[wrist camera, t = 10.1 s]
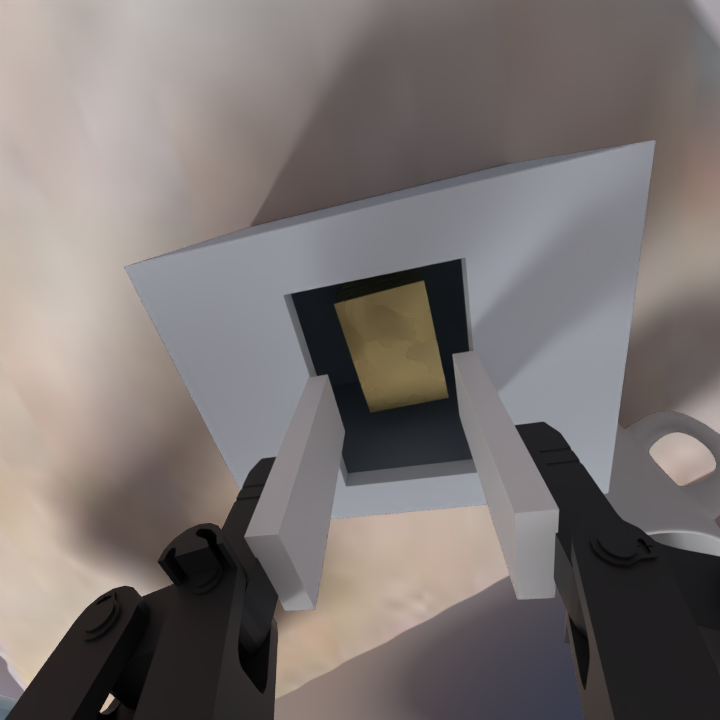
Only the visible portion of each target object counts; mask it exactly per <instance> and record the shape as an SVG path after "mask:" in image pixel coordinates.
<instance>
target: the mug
mask: <svg viewBox="0 0 720 720" xmlns="http://www.w3.org/2000/svg"><path fill="white" fill-rule="evenodd" d="M674 432H680V433H685V434H687V435H690V436H692V437H694V438H696V439H697V440H699V441H700V442H701V443H703V444H704V445H705V446H706V447H707V448H708V449H709V450H710V451H711V453H712V454H713V456H714V458H715V461H716V469H715V470H714V472H713V473H712V474H711V475H710V476H709V477H707V478H706V479H704V480H702V481H700V482H697V483H694V484H691V485H686V486H679V485H677V484H676V483H675V482H674V481H673V480H672V479H671V478H670V477H669V476H668V475H667V474H666V473H665V472H664V471H663V470H662V468H661V467H660V466H659V465H658V464H657V463H656V462H655V461H654V459H653V458H652V457H651V455H650V453H649V450H650V448H651V446H652V445H653V444H654V443H655V442H656V441H657V440H659V439H660V438H662V437H663V436H665V435H667V434H670V433H674ZM604 495H605V497H606V498H607V500H608V501H609V503H610V504H611V505H612V507H613V508H614V510H615V511H616V512H617V514H618V515H619V516H620V517H621V518H622V519H623V520H624V521H626V522H628V523H631V524H633V525H635V526H637V527H639V528H640V529H641V530H643V531H644V532H645V533H646V534H648V535H649V536H650V537H651V538H653V539H654V541H656V542H659V543H661V544H664V545H668V546H671V547H675V548H679V549H684V550H689V551H695V552H700V553H705V554H710V555H716V556H720V528H719V527H718V526H717V524H716V523H715V521H714V519H715V518H716V517H717V516H719V515H720V434H718V433H717V432H716V431H714V430H713V429H711V428H710V427H708V426H707V425H705V424H704V423H702V422H700V421H698V420H696V419H694V418H693V417H690V416H688V415H685V414H683V413H678V412H674V411H660V412H655V413H652V414H650V415H648V416H646V417H644V418H642V419H640V420H638V421H637V422H635V423H633V424H632V425H630V426H629V427H627V428H625V429H624V428H623V427H622V426H621V425H620V424H619V423H618V424H617V432H616V439H615V447H614V454H613V462H612V469H611V477H610V484H609V491H608V493H606V494H604Z"/></svg>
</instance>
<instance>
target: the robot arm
mask: <svg viewBox="0 0 720 720" xmlns="http://www.w3.org/2000/svg"><path fill="white" fill-rule="evenodd" d="M452 355H453V364H454V372H455V381H456V390H457V398H458V407H459V416H460V419H461V423H462V426H463V429H464V432H465V435H466V438H467V441H468V445H469V448H470V451H471V454H472V457H473V460H474V464H475V467H476V470H477V473H478V476H479V479H480V483H481V486H482V489H483V492H484V495H485V498H486V501H487V505H488V508H489V511H490V514H491V517H492V520H493V524H494V527H495V530H496V533H497V536H498V539H499V542H500V546H501V549H502V552H503V555H504V558H505V561H506V565H507V568H508V571H509V574H510V577H511V580H512V584H513V587H514V590H515V593H516V596H517V599H537V598H554V597H555V585H556V586H557V588H558V590H559V593H560V595H561V597H562V599H563V602H564V604H565V607H566V609H567V612H566V624H565V642H566V643H570V645H571V651H572V656H573V662H574V667H575V672H576V678H577V683H578V688H579V694H580V699H581V704H582V710H583V716H584V720H720V556H716V555H710V554H705V553H700V552H695V551H689V550H684V549H679V548H675V547H671V546H668V545H664V544H661V543H659V542H656V541H654V539H653V538H651V537H650V536H649V535H648V534H646V533H645V532H644V531H643V530H641V529H640V528H639V527H637V526H635V525H633V524H631V523H628V522H626V521H624V520H623V519H622V518H621V517H620V516H619V515H618V514H617V512H616V511H615V510H614V508H613V507H612V505H611V504H610V503H609V501H608V500H607V498H606V497H605V495H604V494H603V493H602V491H601V490H600V488H599V487H598V485H597V484H596V483H595V481H594V480H593V478H592V477H591V475H590V474H589V473H588V471H587V470H586V468H585V467H584V465H583V464H582V463H580V460H579V458H578V457H577V456H576V454H575V453H574V451H572V450H571V447H570V446H569V444H568V443H567V441H566V440H565V438H564V437H563V436H562V434H561V433H560V432H559V431H557V430H556V429H554V428H553V427H551V426H550V425H548V424H547V423H545V422H544V421H543V422H536V423H528V424H520V425H514V424H513V422H512V420H511V418H510V416H509V414H508V412H507V410H506V409H505V407H504V405H503V403H502V401H501V399H500V397H499V395H498V394H497V392H496V390H495V388H494V386H493V384H492V382H491V380H490V379H489V377H488V375H487V373H486V371H485V369H484V367H483V365H482V364H481V362H480V360H479V358H478V356H477V354H476V352H475V350H474V351H468V352H462V353H456V354H452ZM344 435H345V430H344V427H343V423H342V420H341V417H340V413H339V410H338V407H337V403H336V400H335V397H334V393H333V390H332V387H331V384H330V380H329V377H328V375H322V376H315V377H309V378H308V380H307V382H306V385H305V387H304V390H303V392H302V395H301V397H300V400H299V402H298V405H297V407H296V410H295V412H294V415H293V417H292V420H291V422H290V425H289V427H288V430H287V432H286V434H285V437H284V439H283V442H282V444H281V447H280V449H279V452H278V454H277V457H270V458H262V459H261V460H260V461H259V462H258V463H257V464H256V465H255V466H254V467H253V468H252V469H251V470H250V472H249V473H248V475H247V477H246V480H245V482H244V484H243V486H242V489H241V490H240V492H239V494H238V496H237V498H236V499H237V501H236V502H235V503H234V505H233V507H232V509H231V511H230V513H229V515H228V517H227V519H226V521H225V524H224V526H223V528H222V530H221V529H220V528H219V526H217V525H214V524H211V523H207V524H199V525H197V526H194V527H192V528H190V529H188V530H186V531H185V532H183V533H182V534H180V535H179V536H178V537H176V538H175V539H174V540H173V541H172V542H171V543H170V544H169V545H168V546H167V547H166V549H165V550H164V551H163V553H162V555H161V557H160V558H159V560H158V563H159V564H160V566H161V567H162V568H163V570H164V571H165V572H166V574H167V575H168V576H169V578H170V579H171V580H172V582H173V583H174V584H173V585H170V586H168V587H165V588H163V589H160V590H158V591H155V592H153V593H150V594H148V595H145V596H143V597H141V596H140V595H139V593H138V592H137V591H136V590H135V589H134V588H133V587H129V586H122V587H118V588H114V589H112V590H110V591H109V592H107V593H105V594H103V595H101V596H100V597H99V598H97V599H96V600H95V601H94V602H93V603H92V604H90V605H89V606H88V607H87V608H86V609H85V610H84V611H83V613H82V614H81V615H80V616H79V617H78V618H77V619H76V621H75V622H74V623H73V625H72V626H71V628H70V629H69V630H68V632H67V633H66V635H65V636H64V637H63V639H62V640H61V642H60V643H59V644H58V646H57V647H56V649H55V650H54V651H53V653H52V654H51V655H50V657H49V658H48V660H47V661H46V662H45V664H44V665H43V667H42V668H41V669H40V671H39V672H38V674H37V675H36V676H35V678H34V679H33V681H32V682H31V683H30V685H29V686H28V688H27V689H26V690H25V692H24V693H23V695H22V696H21V697H20V699H15V698H11V697H7V696H3V695H0V720H274V703H275V684H276V664H277V644H278V630H277V623H276V621H275V620H274V618H273V615H274V611H275V607H276V603H277V599H279V601H280V603H281V604H282V606H283V608H284V610H285V611H298V610H315V608H316V602H317V596H318V590H319V584H320V578H321V572H322V566H323V560H324V555H325V549H326V543H327V537H328V531H329V525H330V519H331V513H332V507H333V501H334V495H335V489H336V483H337V477H338V471H339V465H340V459H341V453H342V447H343V441H344ZM109 693H110V694H112V695H113V696H114V697H115V698H114V700H113V701H112V703H111V704H110V705H109V707H108V708H107V709H106V710H105V711H103V712H102V713H100V710H101V708H102V706H103V704H104V703H105V701H106V699H107V697H108V695H109Z"/></svg>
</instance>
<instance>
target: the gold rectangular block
mask: <svg viewBox="0 0 720 720" xmlns="http://www.w3.org/2000/svg"><path fill="white" fill-rule="evenodd" d="M334 306H335V309H336V312H337V315H338V318H339V321H340V324H341V327H342V330H343V333H344V336H345V339H346V342H347V345H348V348H349V351H350V354H351V357H352V360H353V363H354V366H355V369H356V372H357V375H358V378H359V381H360V384H361V387H362V390H363V392H364V395H365V398H366V401H367V404H368V407H369V410H370V413H372V412H377V411H382V410H387V409H393V408H398V407H403V406H408V405H414V404H419V403H424V402H429V401H435V400H440V399H445V398H449V396H448V392H447V387H446V382H445V378H444V373H443V368H442V363H441V359H440V354H439V349H438V344H437V340H436V335H435V330H434V325H433V321H432V316H431V311H430V306H429V302H428V297H427V292H426V288H425V283H424V279H423V276H422V273H421V270H420V267H417V268H412V269H408V270H403V271H398V272H393V273H388V274H383V275H379V276H374V277H369V278H364V279H359V280H354V281H350V282H345V283H344V284H343V286H342V288H341V290H340V292H339V294H338V296H337V298H336V300H335V302H334Z"/></svg>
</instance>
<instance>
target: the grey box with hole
mask: <svg viewBox="0 0 720 720" xmlns="http://www.w3.org/2000/svg"><path fill="white" fill-rule="evenodd" d="M655 141H656V140H651V141H645V142H639V143H633V144H626V145H620V146H614V147H608V148H602V149H596V150H590V151H584V152H577V153H571V154H565V155H559V156H553V157H547V158H541V159H535V160H528V161H522V162H516V163H510V164H506V165H502V166H498V167H493V168H489V169H485V170H481V171H477V172H473V173H469V174H465V175H461V176H457V177H452V178H448V179H444V180H440V181H436V182H432V183H428V184H424V185H420V186H416V187H412V188H407V189H403V190H399V191H395V192H391V193H387V194H383V195H379V196H375V197H371V198H366V199H362V200H358V201H354V202H350V203H346V204H342V205H338V206H334V207H330V208H325V209H321V210H317V211H313V212H309V213H305V214H301V215H297V216H293V217H289V218H284V219H280V220H276V221H272V222H268V223H264V224H260V225H256V226H252V227H248V228H245V229H242V230H239V231H236V232H232V233H229V234H226V235H223V236H220V237H217V238H214V239H210V240H207V241H204V242H201V243H198V244H195V245H191V246H188V247H185V248H182V249H179V250H176V251H173V252H169V253H166V254H163V255H160V256H157V257H154V258H150V259H147V260H144V261H141V262H138V263H135V264H132V265H128V266H125V267H124V268H125V270H126V272H127V274H128V276H129V278H130V280H131V282H132V284H133V285H134V287H135V289H136V291H137V293H138V295H139V297H140V299H141V301H142V303H143V305H144V307H145V309H146V310H147V312H148V314H149V316H150V318H151V320H152V322H153V324H154V326H155V328H156V330H157V332H158V334H159V336H160V337H161V339H162V341H163V343H164V345H165V347H166V349H167V351H168V353H169V355H170V357H171V359H172V361H173V363H174V364H175V366H176V368H177V370H178V372H179V374H180V376H181V378H182V380H183V382H184V384H185V386H186V388H187V389H188V391H189V393H190V395H191V397H192V399H193V401H194V403H195V405H196V407H197V409H198V411H199V413H200V415H201V416H202V418H203V420H204V422H205V424H206V426H207V428H208V430H209V432H210V434H211V436H212V438H213V440H214V442H215V443H216V445H217V447H218V449H219V451H220V453H221V455H222V457H223V459H224V461H225V463H226V465H227V467H228V468H229V470H230V472H231V474H232V476H233V478H234V480H235V482H236V484H237V486H238V488H239V490H241V489H242V486H243V484H244V482H245V480H246V477H247V475H248V473H249V472H250V470H251V469H252V468H253V467H254V466H255V465H256V464H257V463H258V462H259V461H260V460H261V459H262V458H270V457H277V454H278V452H279V449H280V447H281V444H282V442H283V439H284V437H285V434H286V432H287V430H288V427H289V425H290V422H291V420H292V417H293V415H294V412H295V410H296V407H297V405H298V402H299V400H300V397H301V395H302V392H303V390H304V387H305V385H306V382H307V380H308V378H309V377H315V376H322V375H328V377H329V380H330V384H331V387H332V390H333V393H334V397H335V400H336V403H337V407H338V410H339V413H340V417H341V420H342V423H343V427H344V430H345V435H344V441H343V447H342V453H341V459H340V465H339V471H338V477H337V483H336V489H335V495H334V501H333V507H332V513H331V519H339V518H349V517H360V516H371V515H382V514H392V513H403V512H414V511H424V510H435V509H446V508H456V507H467V506H478V505H487V501H486V498H485V495H484V492H483V489H482V486H481V483H480V479H479V476H478V473H477V470H476V467H475V464H474V460H473V457H472V454H471V451H470V448H469V445H468V441H467V438H466V435H465V432H464V429H463V426H462V423H461V419H460V416H459V407H458V398H457V390H456V381H455V372H454V364H453V355H452V354H456V353H462V352H468V351H474V350H475V352H476V354H477V356H478V358H479V360H480V362H481V364H482V365H483V367H484V369H485V371H486V373H487V375H488V377H489V379H490V380H491V382H492V384H493V386H494V388H495V390H496V392H497V394H498V395H499V397H500V399H501V401H502V403H503V405H504V407H505V409H506V410H507V412H508V414H509V416H510V418H511V420H512V422H513V424H514V425H520V424H528V423H536V422H543V421H544V422H545V423H547V424H548V425H550V426H551V427H553V428H554V429H556V430H557V431H559V432H560V433H561V434H562V436H563V437H564V438H565V440H566V441H567V443H568V444H569V446H570V447H571V450H572V451H574V453H575V454H576V456H577V457H578V458H579V460H580V463H582V464H583V465H584V467H585V468H586V470H587V471H588V473H589V474H590V475H591V477H592V478H593V480H594V481H595V483H596V484H597V485H598V487H599V488H600V490H601V491H602V493H603V494H606V493H608V491H609V484H610V477H611V469H612V462H613V454H614V447H615V439H616V432H617V424H618V417H619V410H620V402H621V395H622V387H623V380H624V372H625V365H626V357H627V350H628V342H629V335H630V328H631V320H632V313H633V305H634V298H635V290H636V283H637V275H638V268H639V261H640V253H641V246H642V238H643V231H644V223H645V216H646V208H647V201H648V194H649V186H650V179H651V171H652V164H653V156H654V149H655ZM417 267H420V270H421V273H422V276H423V279H424V283H425V288H426V292H427V297H428V302H429V306H430V311H431V316H432V321H433V325H434V330H435V335H436V340H437V344H438V349H439V354H440V359H441V363H442V368H443V373H444V378H445V382H446V387H447V392H448V396H449V398H445V399H440V400H435V401H429V402H424V403H419V404H414V405H408V406H403V407H398V408H393V409H387V410H382V411H377V412H372V413H370V410H369V407H368V404H367V401H366V398H365V395H364V392H363V390H362V387H361V384H360V381H359V378H358V375H357V372H356V369H355V366H354V363H353V360H352V357H351V354H350V351H349V348H348V345H347V342H346V339H345V336H344V333H343V330H342V327H341V324H340V321H339V318H338V315H337V312H336V309H335V306H334V302H335V300H336V298H337V296H338V294H339V292H340V290H341V288H342V286H343V284H344V283H345V282H350V281H354V280H359V279H364V278H369V277H374V276H379V275H383V274H388V273H393V272H398V271H403V270H408V269H412V268H417Z"/></svg>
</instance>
